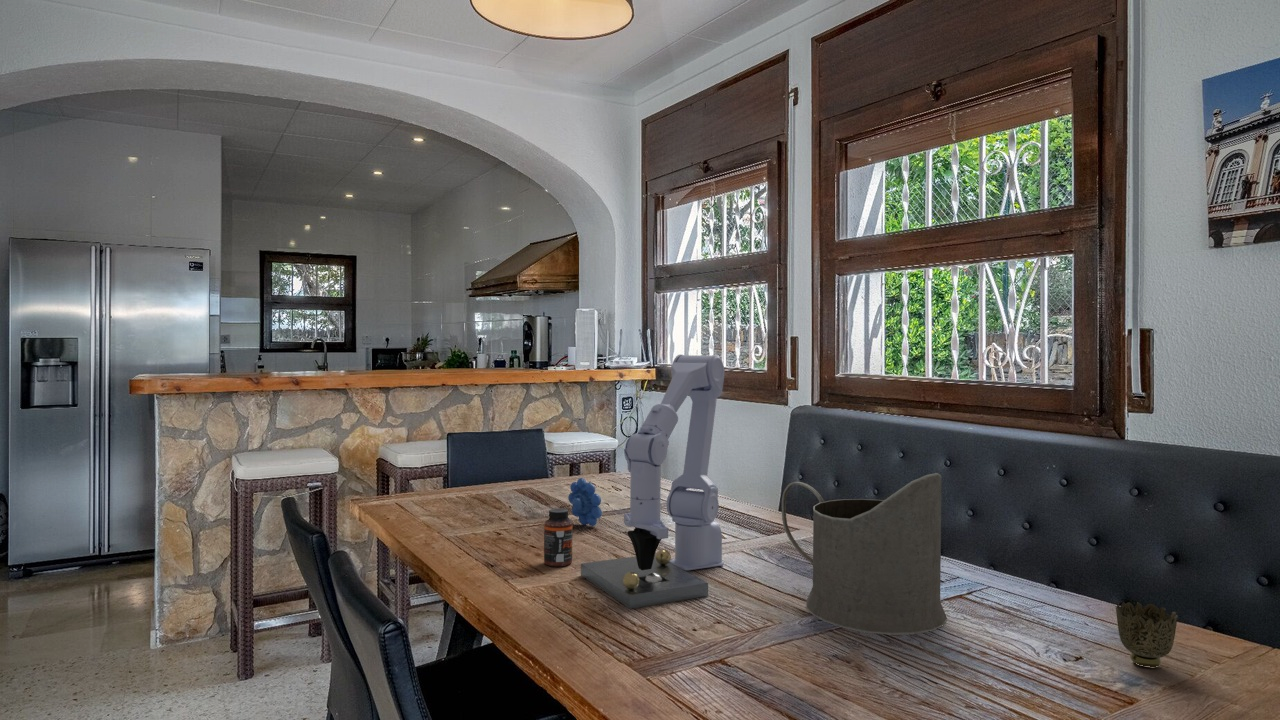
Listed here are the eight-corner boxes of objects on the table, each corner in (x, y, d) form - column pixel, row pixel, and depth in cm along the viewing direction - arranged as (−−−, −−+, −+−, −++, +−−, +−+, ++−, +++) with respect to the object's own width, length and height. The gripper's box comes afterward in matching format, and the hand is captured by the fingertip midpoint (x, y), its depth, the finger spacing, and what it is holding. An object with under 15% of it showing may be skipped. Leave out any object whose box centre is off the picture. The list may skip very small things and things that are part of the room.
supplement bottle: (567, 568, 157) (567, 513, 156) (539, 566, 158) (540, 512, 158) (575, 560, 162) (576, 507, 162) (549, 559, 164) (549, 506, 163)
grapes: (557, 524, 196) (557, 478, 196) (576, 520, 201) (576, 475, 201) (588, 531, 189) (588, 483, 188) (607, 527, 193) (607, 480, 193)
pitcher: (900, 646, 116) (901, 482, 116) (742, 595, 140) (743, 459, 140) (971, 612, 131) (972, 468, 131) (818, 572, 155) (819, 449, 155)
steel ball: (656, 588, 144) (658, 570, 144) (664, 593, 141) (666, 575, 141) (640, 588, 143) (642, 570, 143) (648, 593, 140) (650, 575, 140)
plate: (651, 565, 159) (651, 554, 159) (708, 595, 139) (708, 582, 139) (580, 575, 152) (580, 563, 152) (629, 608, 132) (629, 595, 132)
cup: (1103, 655, 113) (1103, 601, 113) (1149, 653, 113) (1150, 600, 113) (1140, 676, 105) (1141, 619, 105) (1190, 675, 106) (1190, 617, 106)
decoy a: (666, 562, 153) (666, 547, 153) (673, 565, 150) (673, 550, 150) (652, 563, 152) (653, 548, 152) (660, 567, 149) (660, 552, 149)
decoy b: (634, 585, 137) (634, 568, 137) (642, 590, 135) (642, 573, 135) (619, 587, 136) (619, 571, 136) (627, 592, 133) (627, 575, 133)
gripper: (610, 492, 149) (609, 561, 149) (644, 506, 136) (643, 581, 136) (642, 489, 152) (641, 557, 152) (678, 502, 139) (678, 576, 139)
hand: (645, 568), depth 144 cm, fingers closed
